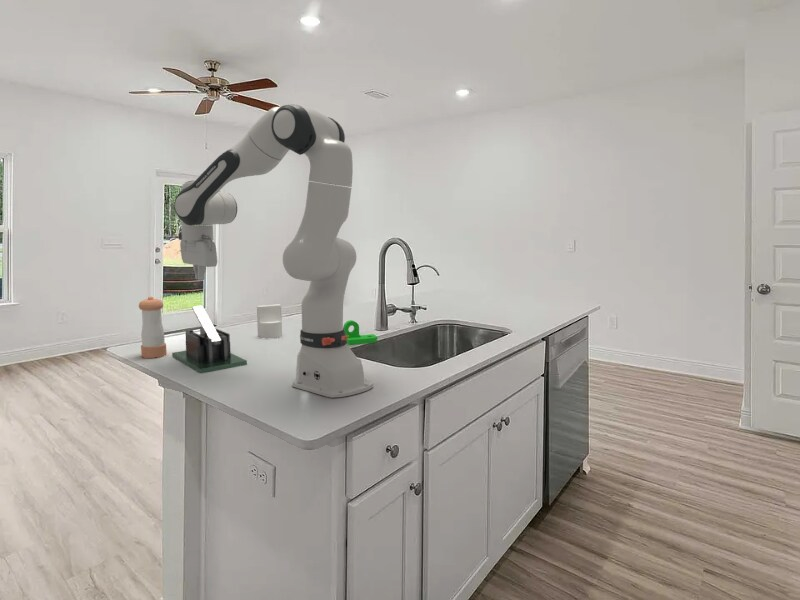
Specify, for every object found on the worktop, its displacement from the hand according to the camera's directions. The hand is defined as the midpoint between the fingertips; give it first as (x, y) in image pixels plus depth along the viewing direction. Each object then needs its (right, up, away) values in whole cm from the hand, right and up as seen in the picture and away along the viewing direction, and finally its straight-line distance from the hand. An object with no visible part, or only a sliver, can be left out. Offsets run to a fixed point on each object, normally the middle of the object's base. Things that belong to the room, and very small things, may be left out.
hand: (200, 279), depth 152 cm
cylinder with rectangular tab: (+12, -21, +35) cm, 43 cm away
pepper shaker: (-17, -25, +6) cm, 30 cm away
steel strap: (+2, -15, -1) cm, 15 cm away
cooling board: (+2, -25, +1) cm, 25 cm away
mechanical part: (+48, -22, +28) cm, 60 cm away
